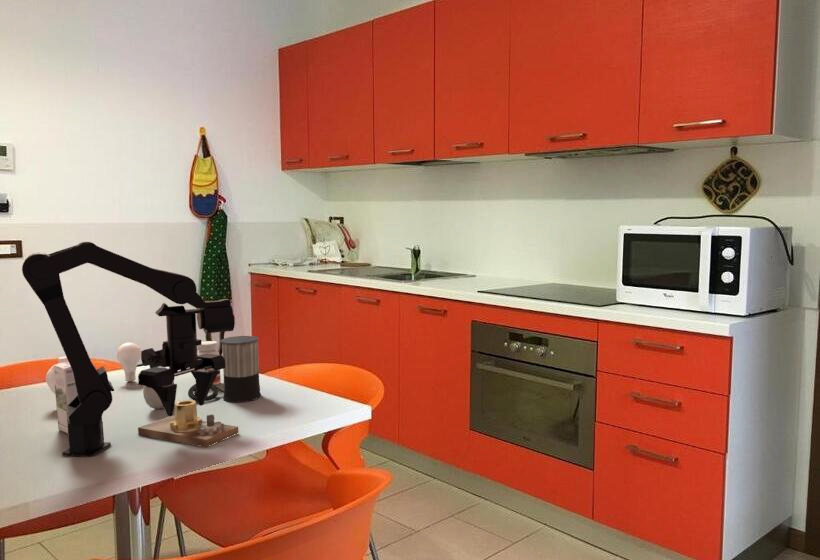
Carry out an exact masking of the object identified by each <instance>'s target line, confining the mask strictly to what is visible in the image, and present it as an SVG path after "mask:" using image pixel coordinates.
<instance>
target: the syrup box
mask: <svg viewBox="0 0 820 560" xmlns="http://www.w3.org/2000/svg"><path fill="white" fill-rule="evenodd" d="M52 366H53V370H54V382H55V394H56V395H55V394H54V395H55V404H56V405H55V406H56V416H57V417H56V418H57V429H58V431H60V432H62V433H64V434H67V435H68V423H69V417H68V412H67V406H68V405H69V404H70V402H71V401H72V400H73V399H74V398H75V397H76V396H77V395H78V394H77V389H76V385H75V380H74V375H73V370H72V368H71V366H70V364H69V361H67V362H64V363H60V364H59V363H56V364H53V365H52Z"/></svg>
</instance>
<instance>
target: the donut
mask: <svg viewBox="0 0 820 560" xmlns="http://www.w3.org/2000/svg"><path fill="white" fill-rule="evenodd" d="M158 368H166V367H161V366H160V367H158ZM172 384H175V380H174V381H173V383H172ZM142 386H143V387H142V388H143V389H142V391H143V398H144V401H145V403H146V405H148V407H149V408H150V409H151V408H152V409H154V410H161V409H164V407H163V404H162V402H161V400H160V398H159V396H158V395H157V393H156V392H155V391H154V390H153V389H152V388H148V387H146V386H144V385H142Z"/></svg>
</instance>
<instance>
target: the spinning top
mask: <svg viewBox="0 0 820 560" xmlns="http://www.w3.org/2000/svg"><path fill="white" fill-rule="evenodd" d="M57 362H58V364H60V363H64V362H68V359H67V357H66V356H60V357H58V358H57ZM45 382H46V384H47V386H48V388H49V389H50V391H51V392H52V393H53V394H54V395H55V396H56V394H55V382H54V370H53V365H52V366H51V367H50V368H49V370H48V371H47V373H46V376H45Z"/></svg>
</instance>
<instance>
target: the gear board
mask: <svg viewBox="0 0 820 560" xmlns="http://www.w3.org/2000/svg"><path fill="white" fill-rule="evenodd" d="M214 416H215V415H214V414H207V415H206V420H202V422H203V423H202V424H200V426H197V427H198V429H191V430H188V431H181V430H178V431H173V428H172V429H170V422H173V421H174V419H175V415H173V416H167V417H164V418H162V419H158V420H156V421H153V422H150V423H146V424H144V425H141V426H139V427H137V434H138V436H144V437H149V438H154V439H159V440H164V441H165V440H167V441H171V442H175V443H176V442H177V443H182V444H186V443H187V445H192V444H194V445H193V446H197V445H201V446H200V447H203V446H205V447H204V448H209V447H210V446H209V445H211V446H213V445H212V444H214V443H216V442H218V443H220V442H219V441H221V440H223V439H225V438H227V437H230V436H232V435H234V434H237V433H239V426H236V425H230V424H224V423H223V422H221V421H216V422H215V417H214ZM239 434H240V433H239ZM237 435H238V434H237ZM232 437H233V436H232ZM230 438H231V437H230ZM225 440H226V439H225ZM223 441H224V440H223ZM221 442H222V441H221ZM216 444H217V443H216ZM214 445H215V444H214ZM208 446H209V447H208Z"/></svg>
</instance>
